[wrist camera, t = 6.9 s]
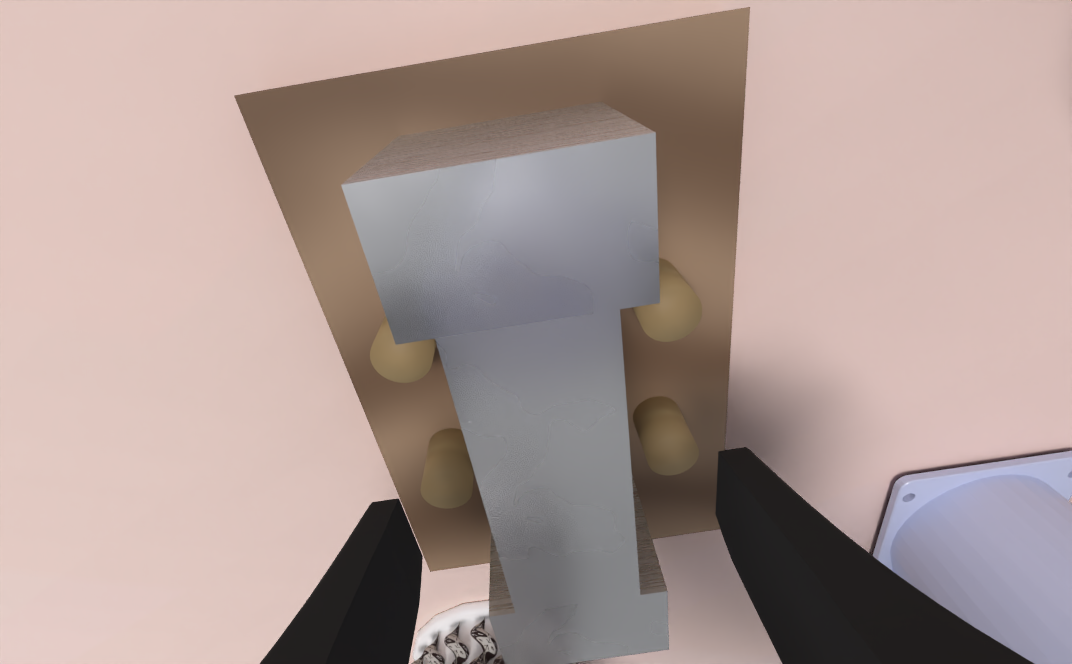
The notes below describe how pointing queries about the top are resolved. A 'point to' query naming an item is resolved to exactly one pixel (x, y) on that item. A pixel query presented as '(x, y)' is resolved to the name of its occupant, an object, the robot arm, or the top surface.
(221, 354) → the top surface
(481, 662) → the decorative candle
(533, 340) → the grey i-beam block
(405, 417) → the peg board
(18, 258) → the top surface
